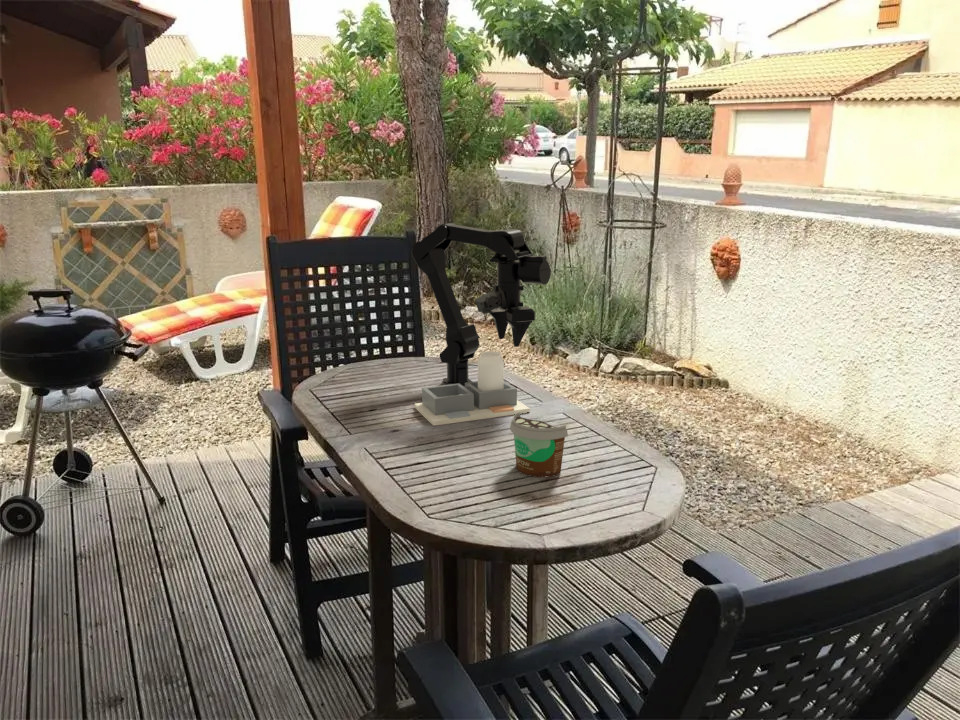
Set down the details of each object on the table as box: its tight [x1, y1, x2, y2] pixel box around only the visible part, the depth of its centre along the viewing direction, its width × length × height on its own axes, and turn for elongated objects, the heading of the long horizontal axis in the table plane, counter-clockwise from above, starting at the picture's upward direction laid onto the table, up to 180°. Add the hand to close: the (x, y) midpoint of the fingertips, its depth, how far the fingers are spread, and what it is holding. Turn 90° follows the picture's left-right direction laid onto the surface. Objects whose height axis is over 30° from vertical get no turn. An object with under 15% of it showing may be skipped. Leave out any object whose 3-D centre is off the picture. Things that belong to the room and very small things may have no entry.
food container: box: [509, 412, 569, 478], centre depth 146 cm, size 12×6×10 cm, turn 47°
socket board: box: [414, 380, 531, 426], centre depth 183 cm, size 14×24×5 cm, turn 112°
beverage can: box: [477, 350, 505, 392], centre depth 185 cm, size 6×6×12 cm
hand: (508, 342), depth 194 cm, fingers open, 9 cm apart
